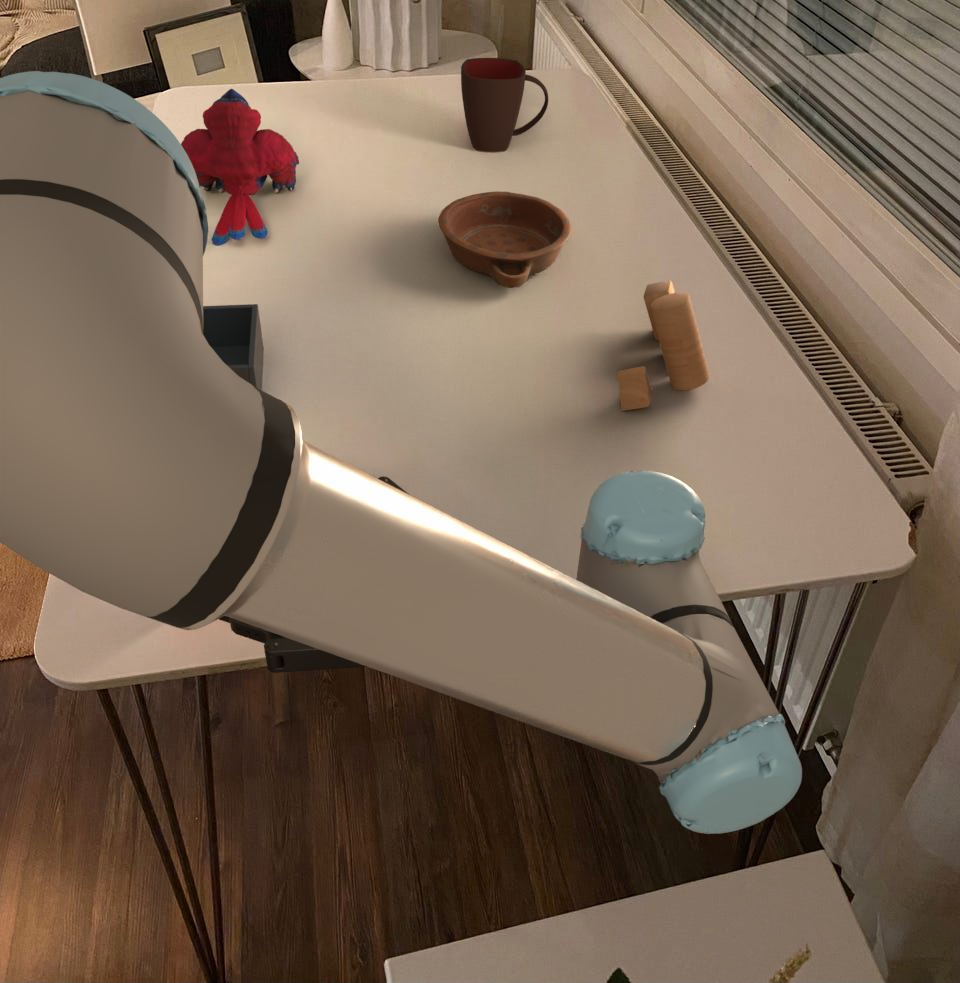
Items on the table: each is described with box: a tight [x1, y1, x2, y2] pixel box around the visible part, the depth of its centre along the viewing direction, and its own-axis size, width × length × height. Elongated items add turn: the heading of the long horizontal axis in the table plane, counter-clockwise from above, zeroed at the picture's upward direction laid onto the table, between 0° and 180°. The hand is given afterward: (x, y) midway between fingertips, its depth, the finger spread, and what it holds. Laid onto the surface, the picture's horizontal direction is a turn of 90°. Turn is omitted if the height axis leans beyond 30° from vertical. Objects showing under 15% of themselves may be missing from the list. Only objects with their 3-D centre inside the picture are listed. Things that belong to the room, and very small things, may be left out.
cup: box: [460, 57, 549, 153], centre depth 152 cm, size 10×14×12 cm
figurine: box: [180, 88, 300, 247], centre depth 133 cm, size 16×20×18 cm
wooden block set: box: [617, 279, 710, 412], centre depth 108 cm, size 18×9×10 cm, turn 165°
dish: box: [437, 190, 572, 289], centre depth 128 cm, size 17×22×5 cm
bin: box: [203, 303, 265, 391], centre depth 104 cm, size 12×12×6 cm
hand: (246, 539), depth 78 cm, fingers open, 13 cm apart
